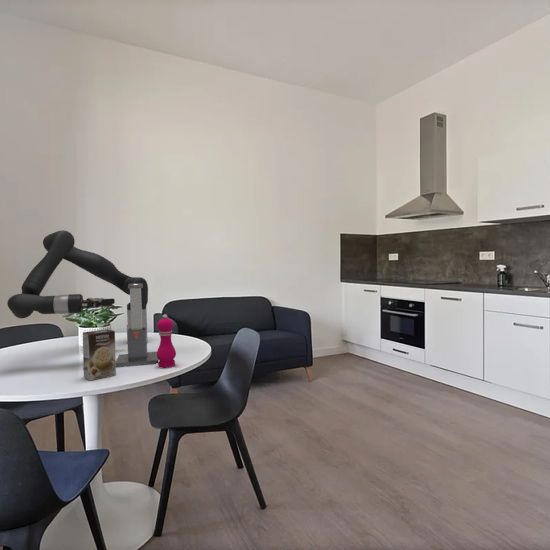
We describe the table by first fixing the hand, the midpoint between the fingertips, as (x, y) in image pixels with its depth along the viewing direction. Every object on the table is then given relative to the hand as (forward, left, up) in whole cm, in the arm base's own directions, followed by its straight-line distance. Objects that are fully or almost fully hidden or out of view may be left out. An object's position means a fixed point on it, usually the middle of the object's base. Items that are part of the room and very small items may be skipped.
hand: (113, 302), depth 159 cm
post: (+5, +7, -17) cm, 19 cm away
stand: (+5, +7, -25) cm, 26 cm away
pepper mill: (+22, +8, -25) cm, 34 cm away
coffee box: (+13, -14, -25) cm, 32 cm away
